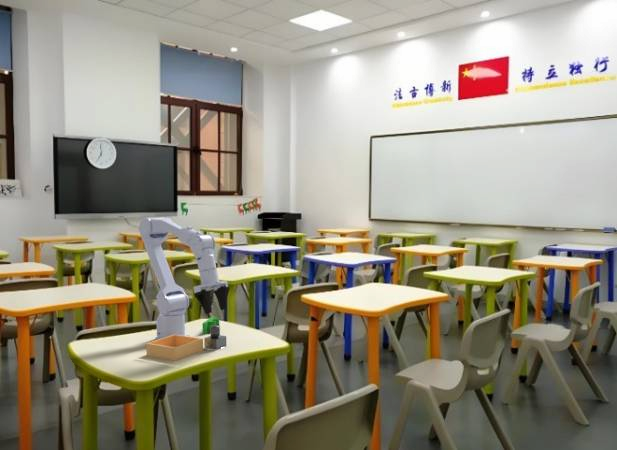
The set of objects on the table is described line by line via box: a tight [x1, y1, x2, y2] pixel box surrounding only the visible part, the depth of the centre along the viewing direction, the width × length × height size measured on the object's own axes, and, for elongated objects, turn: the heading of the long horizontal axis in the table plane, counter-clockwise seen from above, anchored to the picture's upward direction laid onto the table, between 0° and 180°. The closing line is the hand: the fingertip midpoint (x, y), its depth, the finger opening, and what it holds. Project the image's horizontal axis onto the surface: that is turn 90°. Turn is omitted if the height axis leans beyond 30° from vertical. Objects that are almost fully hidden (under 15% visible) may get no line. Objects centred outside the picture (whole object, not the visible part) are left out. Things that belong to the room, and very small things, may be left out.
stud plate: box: [204, 345, 227, 351], centre depth 164 cm, size 7×7×2 cm
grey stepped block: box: [203, 324, 227, 351], centre depth 164 cm, size 5×5×7 cm
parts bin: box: [145, 334, 204, 361], centre depth 159 cm, size 12×12×4 cm
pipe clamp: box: [202, 316, 220, 335], centre depth 186 cm, size 11×4×5 cm, turn 173°
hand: (216, 311), depth 164 cm, fingers open, 7 cm apart
